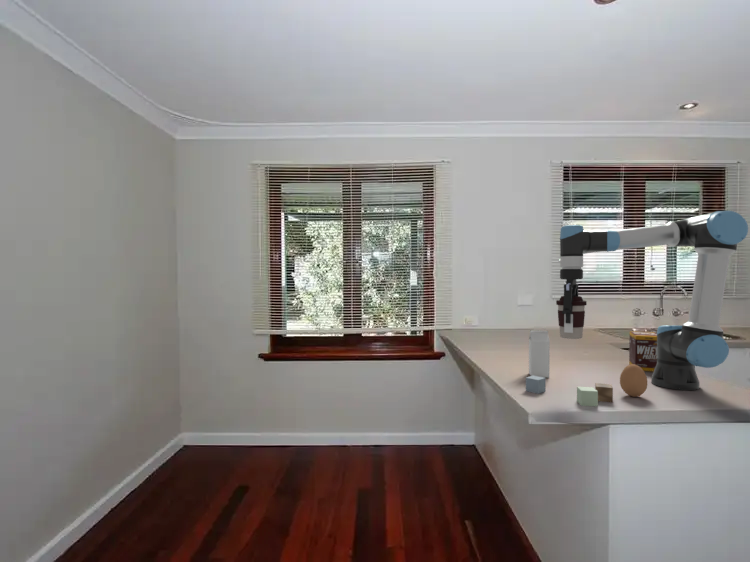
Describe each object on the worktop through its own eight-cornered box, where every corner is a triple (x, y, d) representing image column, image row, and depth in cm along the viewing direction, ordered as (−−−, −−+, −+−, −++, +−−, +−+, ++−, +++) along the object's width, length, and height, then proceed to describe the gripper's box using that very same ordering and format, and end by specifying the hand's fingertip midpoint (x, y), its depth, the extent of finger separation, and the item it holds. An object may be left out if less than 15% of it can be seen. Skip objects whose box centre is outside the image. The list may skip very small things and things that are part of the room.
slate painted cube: (545, 391, 157) (545, 377, 157) (538, 394, 154) (538, 380, 154) (532, 388, 161) (532, 375, 161) (525, 391, 157) (525, 377, 157)
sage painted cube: (592, 402, 144) (592, 387, 144) (597, 406, 139) (597, 391, 139) (576, 401, 145) (576, 386, 145) (581, 405, 140) (581, 390, 140)
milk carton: (549, 378, 176) (549, 331, 176) (531, 377, 178) (531, 331, 177) (546, 373, 183) (546, 329, 183) (528, 373, 185) (528, 329, 184)
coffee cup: (550, 336, 157) (550, 295, 157) (570, 335, 161) (570, 295, 161) (572, 340, 148) (572, 297, 148) (592, 338, 152) (592, 296, 152)
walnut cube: (611, 398, 148) (611, 384, 147) (612, 402, 143) (612, 388, 143) (595, 397, 150) (595, 382, 150) (595, 401, 145) (595, 386, 145)
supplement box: (634, 370, 189) (635, 335, 189) (628, 363, 204) (629, 330, 203) (662, 372, 185) (662, 336, 185) (654, 365, 200) (654, 331, 199)
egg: (636, 401, 144) (637, 367, 144) (614, 394, 152) (614, 363, 152) (652, 398, 148) (653, 365, 148) (630, 392, 155) (630, 361, 155)
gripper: (566, 268, 165) (566, 326, 166) (553, 268, 147) (553, 333, 148) (587, 268, 161) (587, 328, 161) (577, 268, 143) (577, 335, 144)
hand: (571, 330), depth 155 cm, fingers closed on coffee cup, 9 cm apart
